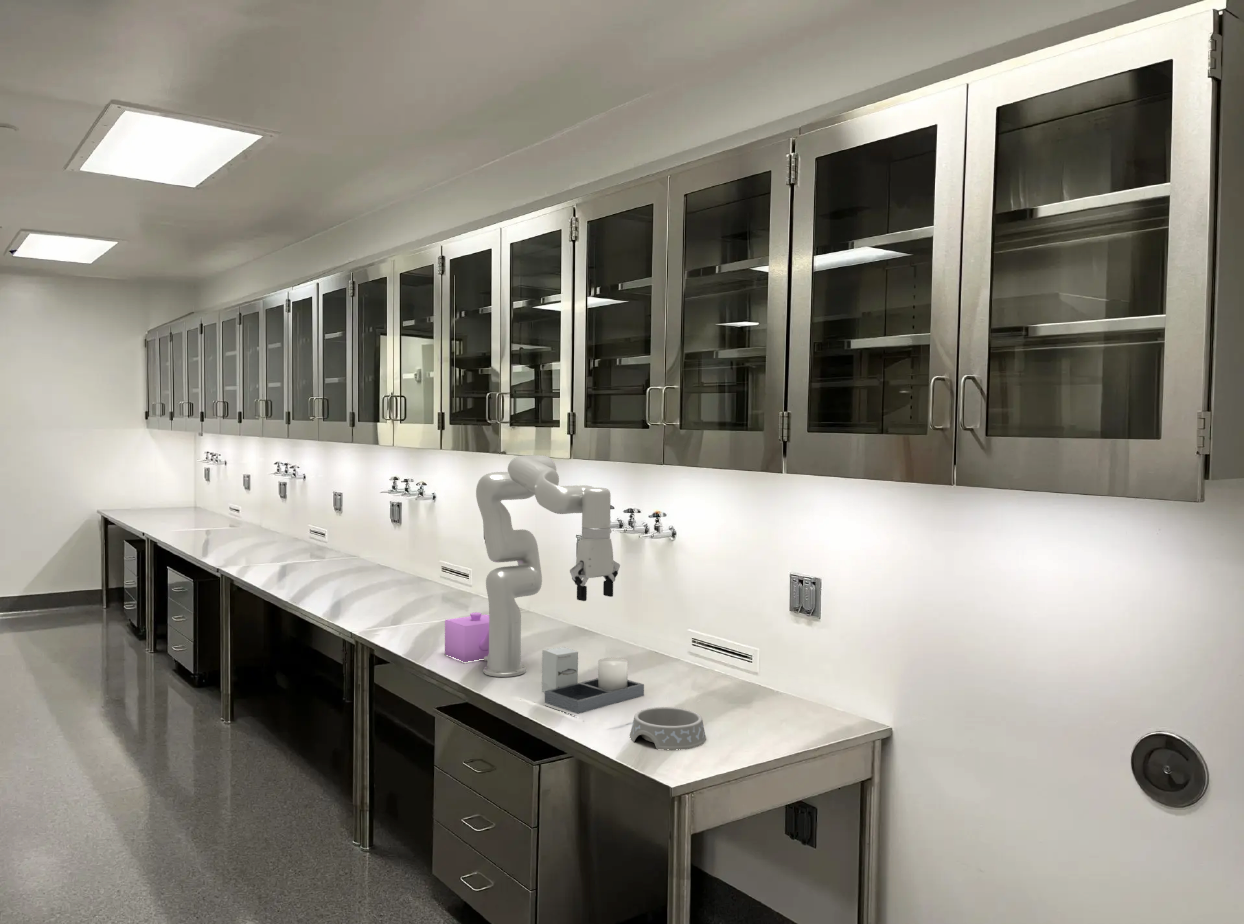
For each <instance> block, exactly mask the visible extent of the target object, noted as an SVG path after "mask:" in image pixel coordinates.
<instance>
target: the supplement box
mask: <svg viewBox="0 0 1244 924" xmlns="http://www.w3.org/2000/svg"><path fill="white" fill-rule="evenodd" d="M541 659H542V660H541V692H542V693H544V694H545V691H547V690H551V689H555V688H559V687H564V686H568V685H572V684H576V683H579V681H578V680H579V677H578V676H579V671H578V670H579V651H578V650H575V649H572V648H570V647H566V646H560V647H555V648H545V649H542V658H541Z"/></svg>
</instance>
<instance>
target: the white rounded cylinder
mask: <svg viewBox="0 0 1244 924" xmlns="http://www.w3.org/2000/svg"><path fill="white" fill-rule="evenodd" d="M628 663H629V661H628V660H627V659H625V658H622V657H621V658H620V657H604V658H601V659H599V660H598V661H597V665H598V666H597V668H598V669H597V673H598V674H597V675H598V676H597V678H598V688H601V689H604V690H607V691H610V692H611V691H615V690H619V689H623V688H627V682H628V680H629V679H628V670H629V668H628V665H629V664H628Z"/></svg>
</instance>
